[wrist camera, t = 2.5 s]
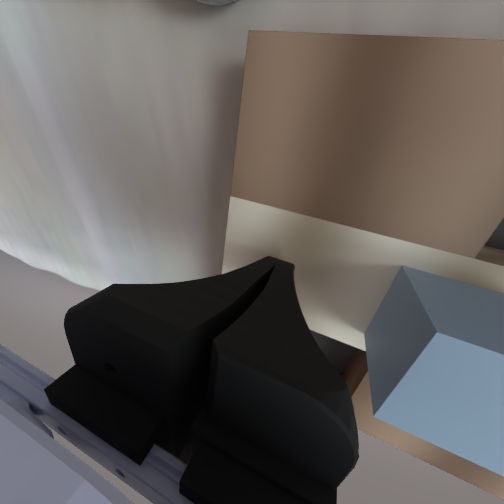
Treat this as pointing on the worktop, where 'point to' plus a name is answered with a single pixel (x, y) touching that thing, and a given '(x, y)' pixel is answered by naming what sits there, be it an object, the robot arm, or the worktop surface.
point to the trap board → (370, 185)
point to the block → (440, 364)
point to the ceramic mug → (216, 2)
